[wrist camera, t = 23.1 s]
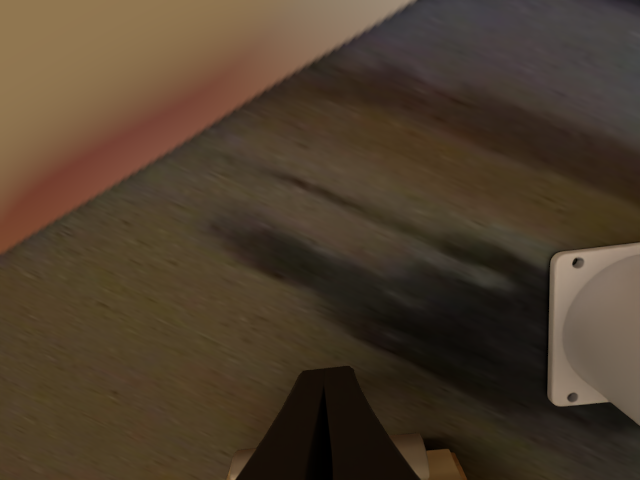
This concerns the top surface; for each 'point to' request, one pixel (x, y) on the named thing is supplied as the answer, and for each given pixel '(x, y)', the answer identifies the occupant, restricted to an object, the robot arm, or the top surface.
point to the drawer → (429, 465)
